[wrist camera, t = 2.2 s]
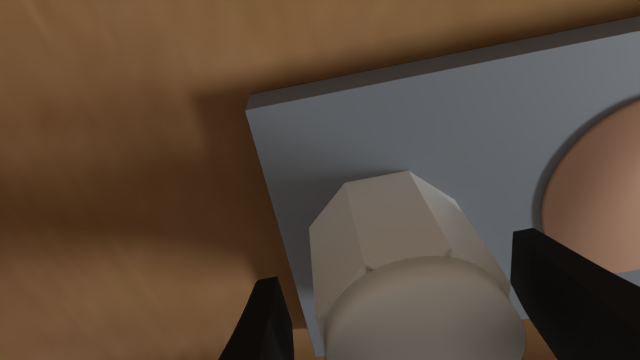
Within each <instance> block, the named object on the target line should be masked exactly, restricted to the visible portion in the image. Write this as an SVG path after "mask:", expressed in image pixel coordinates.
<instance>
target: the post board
mask: <svg viewBox="0 0 640 360" xmlns="http://www.w3.org/2000/svg"><path fill="white" fill-rule="evenodd" d="M245 112H246V116H247V119H248V123H249V126H250V129H251V133H252V136H253V140H254V143H255V147H256V150H257V154H258V157H259V161H260V164H261V168H262V171H263V175H264V178H265V182H266V185H267V189H268V192H269V195H270V199H271V202H272V206H273V209H274V213H275V216H276V220H277V223H278V227H279V230H280V234H281V237H282V241H283V244H284V248H285V251H286V254H287V258H288V261H289V265H290V268H291V272H292V275H293V279H294V282H295V286H296V289H297V293H298V296H299V300H300V303H301V307H302V310H303V313H304V317H305V320H306V324H307V327H308V331H309V334H310V338H311V341H312V345H313V348H314V352H315V355H316V357H322V356H325V351H324V347H323V344H322V340H321V336H320V332H319V329H318V325H317V321H316V317H315V303H314V289H313V276H312V262H311V248H310V234H309V227H310V226H311V225H312V223H313V222H314V221H315V220H316V218H317V217H318V216H319V215H320V213H321V212H322V211H323V210H324V208H325V207H326V206H327V204H328V203H329V202H330V201H331V199H332V198H333V197H334V196H335V194H336V193H337V192H338V191H339V189H340V188H341V187H342V186H343V184H344V183H346V182H351V181H356V180H361V179H367V178H372V177H377V176H382V175H387V174H392V173H397V172H402V171H410V172H412V173H413V174H415V175H416V176H418V177H419V178H421V179H423V180H424V181H426V182H427V183H429V184H431V185H432V186H434V187H435V188H437V189H438V190H440V191H442V192H443V193H445V194H446V195H448V196H449V197H451V198H453V199H454V200H455V201H456V202H457V204H458V205H459V207H460V208H461V210H462V211H463V213H464V214H465V216H466V217H467V219H468V220H469V222H470V223H471V225H472V226H473V228H474V229H475V231H476V232H477V234H478V235H479V237H480V238H481V239H482V241H483V242H484V244H485V245H486V247H487V248H488V250H489V251H490V253H491V254H492V256H493V257H494V259H495V260H496V262H497V263H498V265H499V266H500V268H501V269H502V271H503V272H504V274H505V275H506V276H507V278H508V279H509V281H510V274H511V256H512V238H513V231H519V230H524V229H529V228H535V229H536V230H538V231H540V232H542V233H544V234H545V235H547V236H549V237H551V238H552V239H554V240H556V241H557V242H559V243H561V244H562V245H564V246H566V247H568V248H569V249H571V250H573V251H574V252H576V253H578V254H580V255H581V256H583V257H585V258H587V259H588V260H590V261H592V262H594V263H595V264H597V265H599V266H601V267H603V268H605V269H606V270H608V271H610V272H612V273H614V274H616V275H618V276H620V277H621V278H623V279H625V280H627V281H629V282H631V283H633V284H635V285H637V286H639V287H640V16H636V17H631V18H626V19H622V20H617V21H612V22H607V23H602V24H597V25H592V26H587V27H582V28H577V29H572V30H567V31H562V32H557V33H553V34H548V35H543V36H538V37H533V38H528V39H523V40H518V41H513V42H508V43H503V44H498V45H493V46H488V47H483V48H479V49H474V50H469V51H464V52H459V53H454V54H449V55H444V56H439V57H434V58H429V59H424V60H419V61H414V62H410V63H405V64H400V65H395V66H390V67H385V68H380V69H375V70H370V71H365V72H360V73H355V74H350V75H345V76H340V77H336V78H331V79H326V80H321V81H316V82H311V83H306V84H301V85H296V86H291V87H286V88H281V89H276V90H271V91H267V92H262V93H257V94H252V95H249V98H248V102H247V105H246V109H245ZM510 302H511V303H512V305H513V307H514V308H515V310H516V311H517V313H518V314H519V316H520V318H521V320H525V319H530V318H529V317H528V315H527V314H526V312H525V310H524V309H523V307H522V305H521V303H520V301H519V299H518V297H517V295H516V293H515V291H514V289H513V287H512V285H511V283H510Z"/></svg>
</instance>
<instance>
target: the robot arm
mask: <svg viewBox="0 0 640 360" xmlns="http://www.w3.org/2000/svg"><path fill="white" fill-rule="evenodd" d="M510 282H511V285H512V287H513V289H514V291H515V293H516V295H517V297H518V299H519V301H520V303H521V305H522V307H523V309H524V310H525V312H526V314H527V315H528V317H529V318H530V320H531V321H532V323H533V324H534V326H535V327H536V329H537V330H538V332H539V333H540V335H541V336H542V337H543V339H544V340H545V342H546V343H547V345H548V346H549V348H550V349H551V350H552V352H553V353H554V355H555V356H556V358H557V359H558V360H640V287H639V286H637V285H635V284H633V283H631V282H629V281H627V280H625V279H623V278H621V277H620V276H618V275H616V274H614V273H612V272H610V271H608V270H606V269H605V268H603V267H601V266H599V265H597V264H595V263H594V262H592V261H590V260H588V259H587V258H585V257H583V256H581V255H580V254H578V253H576V252H574V251H573V250H571V249H569V248H568V247H566V246H564V245H562V244H561V243H559V242H557V241H556V240H554V239H552V238H551V237H549V236H547V235H545V234H544V233H542V232H540V231H538V230H536V229H535V228H529V229H524V230H519V231H513V238H512V256H511V274H510ZM218 360H294V345H293V331H292V322H291V319H290V315H289V312H288V309H287V306H286V303H285V299H284V296H283V293H282V290H281V287H280V283H279V280H278V277H272V278H267V279H262V280H258V281H257V282H256V283H255V285H254V288H253V290H252V293H251V295H250V298H249V300H248V302H247V304H246V307H245V309H244V311H243V313H242V315H241V318H240V320H239V322H238V324H237V326H236V328H235V330H234V332H233V334H232V336H231V338H230V340H229V341H228V343H227V345H226V347H225V349H224V350H223V352H222V354H221V356H220V357H219V359H218Z"/></svg>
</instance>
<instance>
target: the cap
mask: <svg viewBox="0 0 640 360" xmlns="http://www.w3.org/2000/svg"><path fill="white" fill-rule="evenodd" d="M309 234H310V248H311V262H312V276H313V289H314V303H315V317H316V321H317V325H318V329H319V332H320V336H321V340H322V344H323V347H324V351H325V359H326V360H522V357H523V354H524V352H525V346H526V332H525V327H524V324H523V322H522V320H521V318H520V316H519V314H518V313H517V311H516V310H515V308H514V307H513V305H512V303H511V302H510V283H511V282H510V281H509V279H508V278H507V276H506V275H505V274H504V272H503V271H502V269H501V268H500V266H499V265H498V263H497V262H496V260H495V259H494V257H493V256H492V254H491V253H490V251H489V250H488V248H487V247H486V245H485V244H484V242H483V241H482V239H481V238H480V237H479V235H478V234H477V232H476V231H475V229H474V228H473V226H472V225H471V223H470V222H469V220H468V219H467V217H466V216H465V214H464V213H463V211H462V210H461V208H460V207H459V205H458V204H457V202H456V201H455V200H454V199H453V198H451V197H449V196H448V195H446V194H445V193H443V192H442V191H440V190H438V189H437V188H435V187H434V186H432V185H431V184H429V183H427V182H426V181H424V180H423V179H421V178H419V177H418V176H416V175H415V174H413V173H412V172H410V171H402V172H397V173H392V174H387V175H382V176H377V177H372V178H367V179H361V180H356V181H351V182H346V183H344V184H343V186H342V187H341V188H340V189H339V191H338V192H337V193H336V194H335V196H334V197H333V198H332V199H331V201H330V202H329V203H328V204H327V206H326V207H325V208H324V210H323V211H322V212H321V213H320V215H319V216H318V217H317V218H316V220H315V221H314V222H313V223H312V225H311V226H310V227H309Z"/></svg>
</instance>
